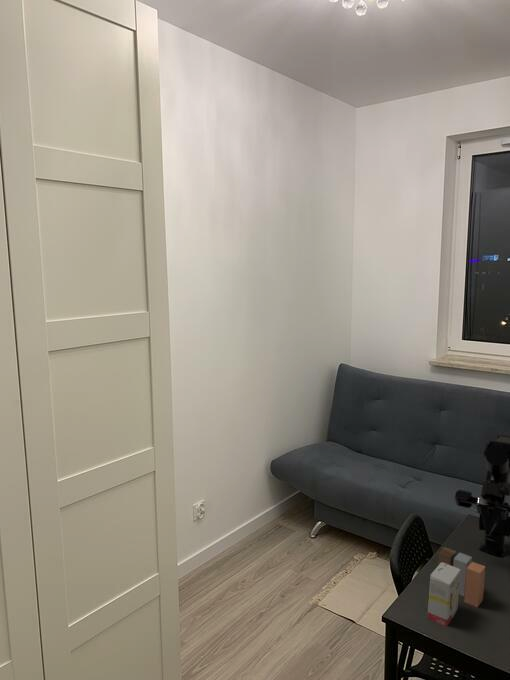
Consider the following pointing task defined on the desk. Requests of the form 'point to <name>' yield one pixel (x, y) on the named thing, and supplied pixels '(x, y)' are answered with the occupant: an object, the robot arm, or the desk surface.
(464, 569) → the slate block
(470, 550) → the desk surface
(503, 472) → the robot arm
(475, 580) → the terracotta block
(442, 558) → the walnut block
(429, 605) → the ink box
